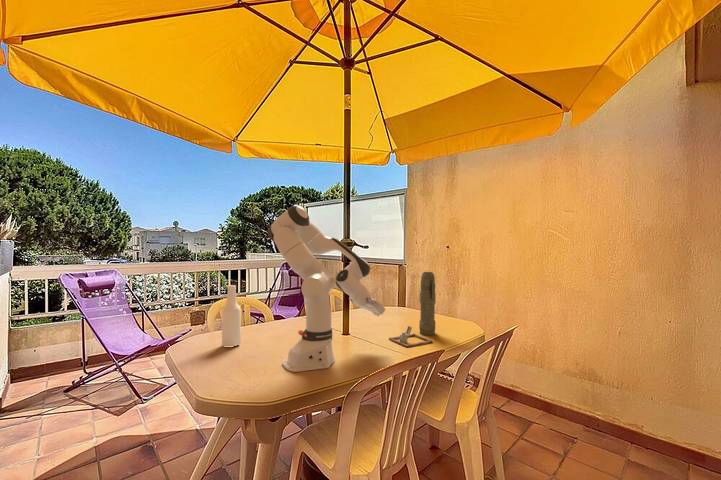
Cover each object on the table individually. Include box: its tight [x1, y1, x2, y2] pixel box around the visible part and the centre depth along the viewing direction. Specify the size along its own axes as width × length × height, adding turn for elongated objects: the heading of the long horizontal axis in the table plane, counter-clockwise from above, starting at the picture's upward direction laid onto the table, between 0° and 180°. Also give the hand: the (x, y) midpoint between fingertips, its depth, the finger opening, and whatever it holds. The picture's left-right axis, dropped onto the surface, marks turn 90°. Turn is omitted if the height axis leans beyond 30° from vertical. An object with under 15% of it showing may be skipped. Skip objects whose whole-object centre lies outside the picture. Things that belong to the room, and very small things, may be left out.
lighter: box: [399, 325, 413, 344], centre depth 180 cm, size 7×2×8 cm, turn 122°
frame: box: [388, 333, 433, 349], centre depth 181 cm, size 17×15×1 cm
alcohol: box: [221, 284, 242, 347], centre depth 171 cm, size 9×9×30 cm
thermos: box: [418, 271, 437, 336], centre depth 197 cm, size 9×12×35 cm
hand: (377, 314), depth 172 cm, fingers closed
